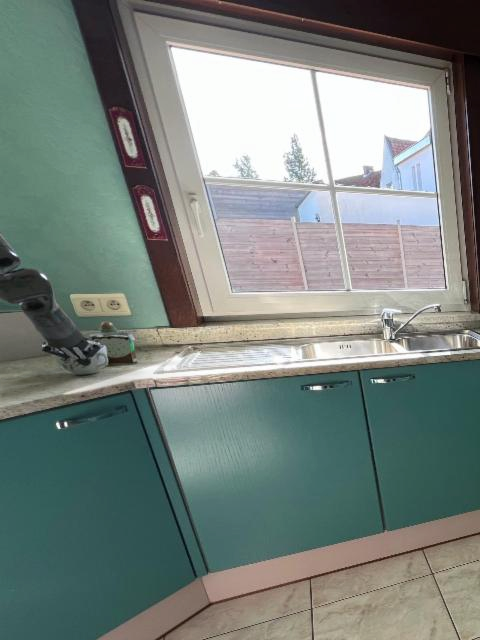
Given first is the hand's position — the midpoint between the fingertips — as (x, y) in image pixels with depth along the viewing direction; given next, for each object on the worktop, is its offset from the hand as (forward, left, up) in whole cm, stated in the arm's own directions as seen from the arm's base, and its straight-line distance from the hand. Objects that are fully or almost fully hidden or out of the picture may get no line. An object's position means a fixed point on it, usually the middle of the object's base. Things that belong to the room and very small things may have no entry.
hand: (86, 363), depth 150 cm
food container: (+17, +14, -4) cm, 23 cm away
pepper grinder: (+23, +29, -4) cm, 37 cm away
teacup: (+3, +5, -4) cm, 7 cm away
